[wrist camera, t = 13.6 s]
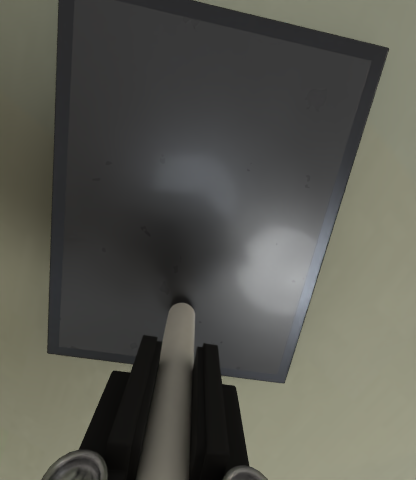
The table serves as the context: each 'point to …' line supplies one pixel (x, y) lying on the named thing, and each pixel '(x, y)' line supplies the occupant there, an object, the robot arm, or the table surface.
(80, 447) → the robot arm
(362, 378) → the table surface
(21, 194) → the table surface
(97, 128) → the tablet
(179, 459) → the stylus
